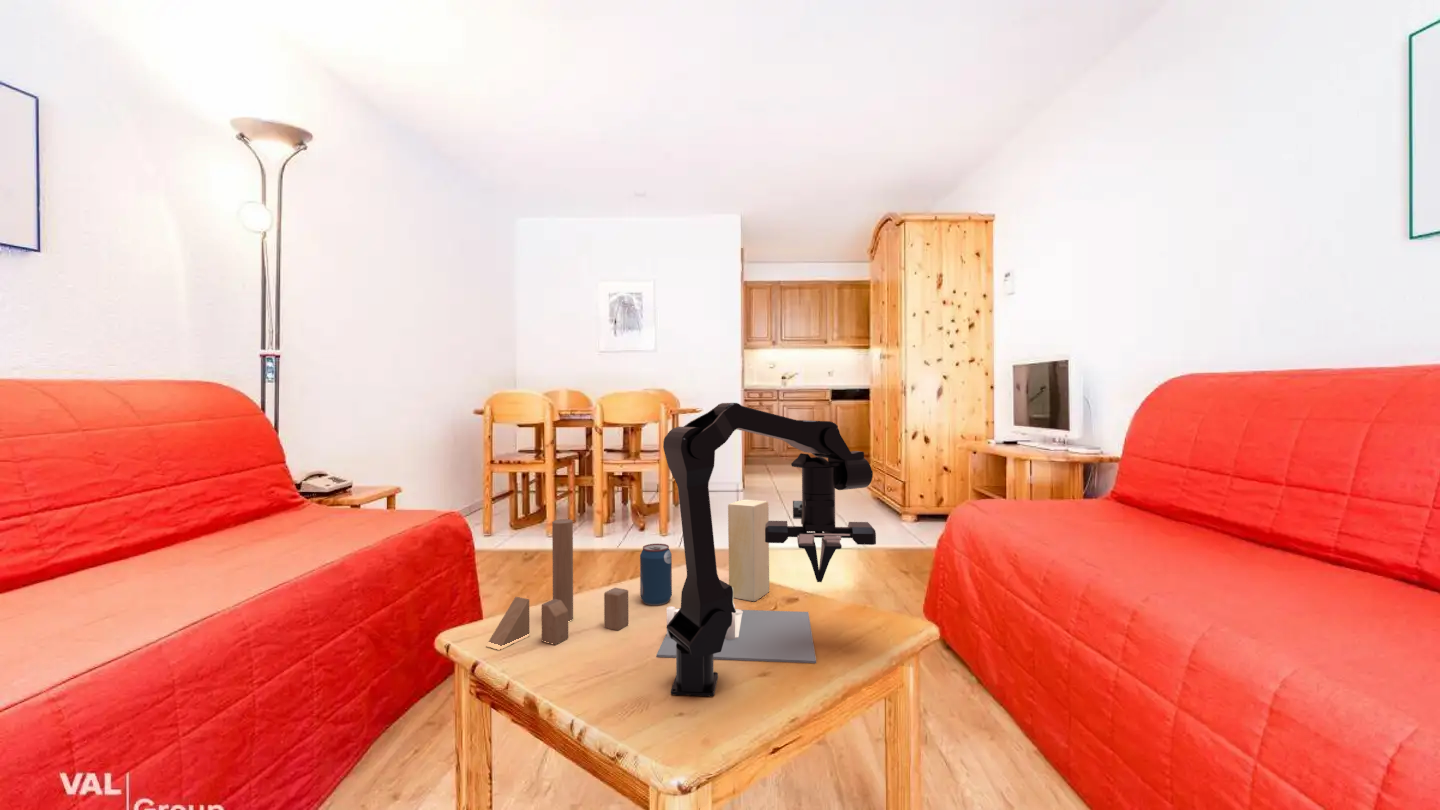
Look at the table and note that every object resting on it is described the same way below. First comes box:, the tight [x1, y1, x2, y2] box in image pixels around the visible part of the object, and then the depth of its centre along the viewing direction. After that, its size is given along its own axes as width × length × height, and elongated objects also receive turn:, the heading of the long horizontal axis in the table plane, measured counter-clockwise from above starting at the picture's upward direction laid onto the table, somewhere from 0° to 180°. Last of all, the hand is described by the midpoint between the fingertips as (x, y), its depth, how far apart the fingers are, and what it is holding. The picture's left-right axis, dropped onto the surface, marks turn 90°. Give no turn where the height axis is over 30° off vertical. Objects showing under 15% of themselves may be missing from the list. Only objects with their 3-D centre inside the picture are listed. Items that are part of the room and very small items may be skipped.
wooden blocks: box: [488, 518, 629, 646], centre depth 103 cm, size 17×20×20 cm
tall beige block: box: [727, 499, 770, 602], centre depth 125 cm, size 8×7×21 cm
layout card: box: [655, 603, 817, 664], centre depth 103 cm, size 22×27×6 cm
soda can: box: [639, 543, 673, 606], centre depth 121 cm, size 7×7×12 cm
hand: (819, 581), depth 96 cm, fingers closed
